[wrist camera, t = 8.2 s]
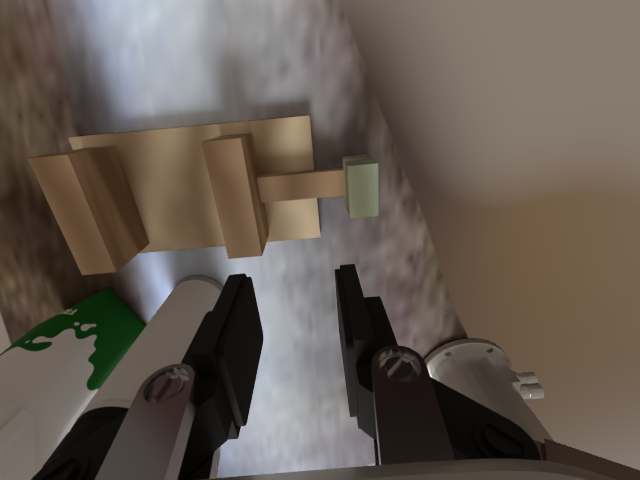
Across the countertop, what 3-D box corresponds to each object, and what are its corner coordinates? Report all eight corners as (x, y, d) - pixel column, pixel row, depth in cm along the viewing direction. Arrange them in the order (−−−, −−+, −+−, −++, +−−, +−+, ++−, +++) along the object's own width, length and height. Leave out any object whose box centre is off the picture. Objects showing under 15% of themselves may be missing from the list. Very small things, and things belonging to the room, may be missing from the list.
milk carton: (106, 356, 39) (-70, 573, 21) (52, 306, 36) (-215, 513, 18) (160, 331, 38) (20, 540, 20) (108, 276, 35) (-119, 467, 16)
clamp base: (309, 115, 28) (309, 117, 22) (320, 232, 33) (322, 264, 26) (77, 136, 28) (7, 145, 22) (122, 250, 33) (75, 285, 27)
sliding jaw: (366, 122, 27) (377, 125, 23) (368, 225, 31) (378, 245, 27) (219, 135, 27) (201, 141, 23) (240, 236, 31) (228, 258, 27)
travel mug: (162, 282, 35) (2, 474, 17) (215, 268, 35) (108, 450, 16) (186, 323, 38) (69, 529, 19) (236, 311, 37) (163, 510, 19)
